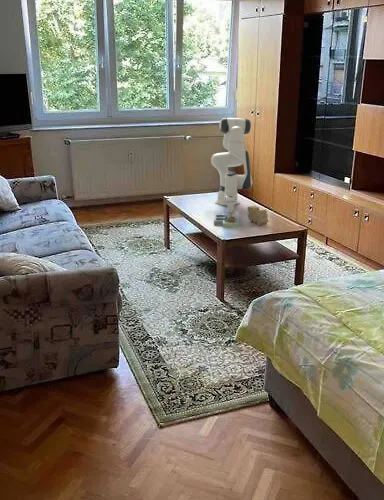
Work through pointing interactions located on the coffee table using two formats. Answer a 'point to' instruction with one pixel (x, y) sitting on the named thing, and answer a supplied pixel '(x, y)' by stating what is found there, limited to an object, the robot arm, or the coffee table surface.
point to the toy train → (257, 215)
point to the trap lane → (220, 220)
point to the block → (230, 219)
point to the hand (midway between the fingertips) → (230, 215)
